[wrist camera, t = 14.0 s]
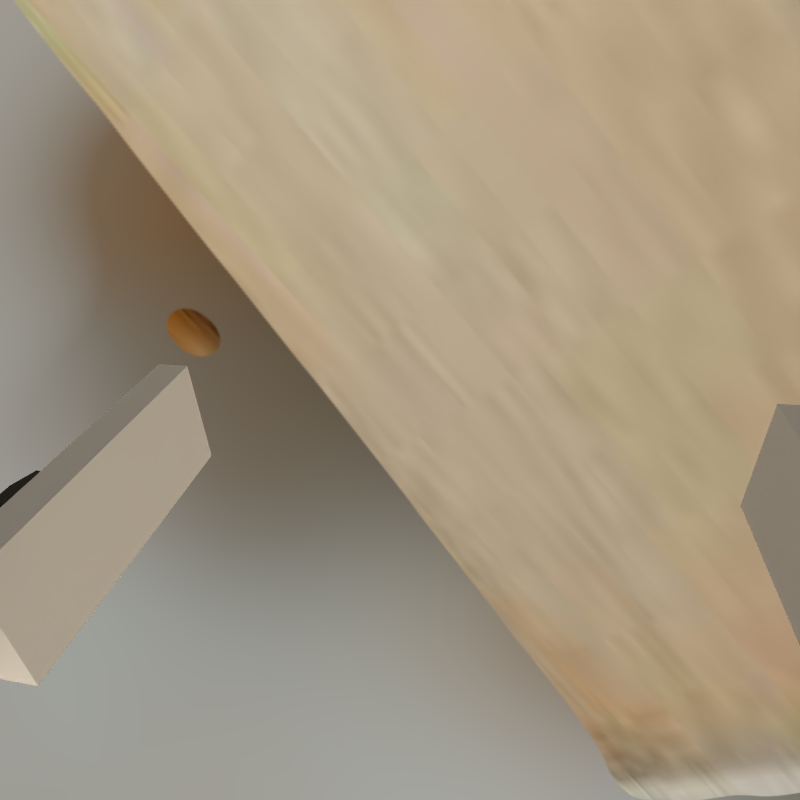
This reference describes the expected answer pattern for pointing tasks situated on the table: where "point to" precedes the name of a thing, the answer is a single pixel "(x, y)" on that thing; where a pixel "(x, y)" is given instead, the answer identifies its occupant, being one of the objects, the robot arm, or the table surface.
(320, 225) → the table surface
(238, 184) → the table surface
